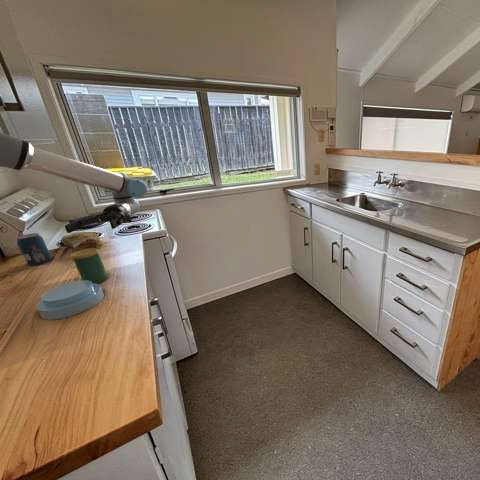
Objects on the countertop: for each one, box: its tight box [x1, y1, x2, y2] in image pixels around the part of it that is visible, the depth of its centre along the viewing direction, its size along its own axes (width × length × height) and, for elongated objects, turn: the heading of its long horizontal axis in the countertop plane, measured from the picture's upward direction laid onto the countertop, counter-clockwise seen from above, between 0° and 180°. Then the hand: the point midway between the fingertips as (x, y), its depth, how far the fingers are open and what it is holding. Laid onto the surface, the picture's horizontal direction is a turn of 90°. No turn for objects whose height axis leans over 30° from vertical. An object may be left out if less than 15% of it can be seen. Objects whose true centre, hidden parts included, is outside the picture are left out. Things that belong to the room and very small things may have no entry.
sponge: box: [60, 231, 102, 252], centre depth 118 cm, size 13×8×20 cm
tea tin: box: [70, 248, 109, 285], centre depth 87 cm, size 7×7×11 cm
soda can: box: [16, 232, 53, 266], centre depth 102 cm, size 7×7×12 cm
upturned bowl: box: [36, 279, 105, 321], centre depth 75 cm, size 14×14×5 cm
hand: (89, 227), depth 91 cm, fingers open, 13 cm apart
